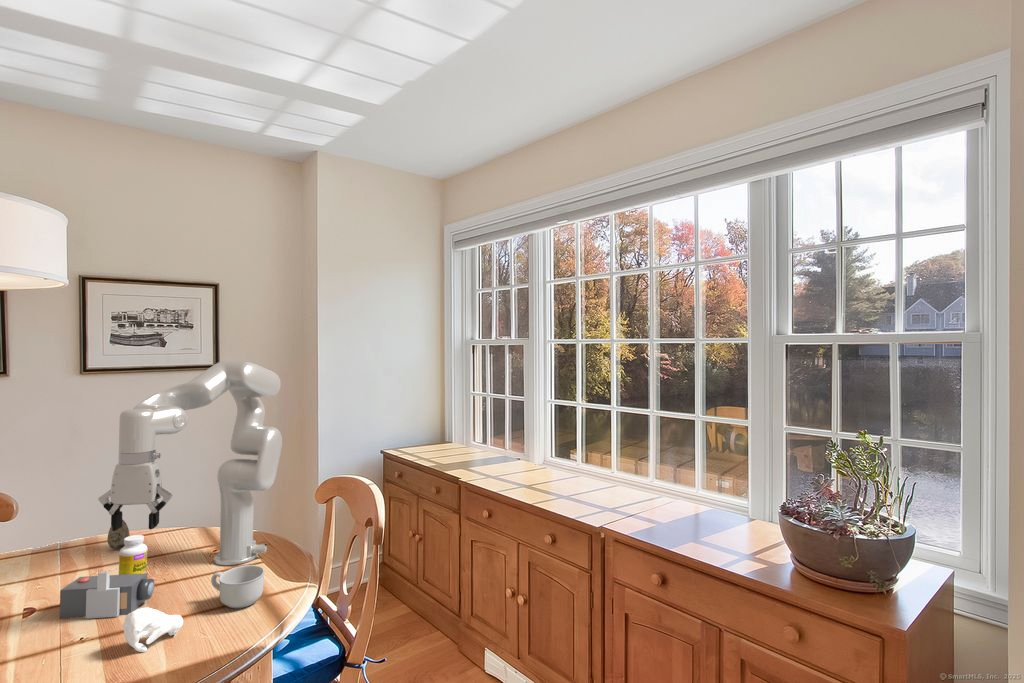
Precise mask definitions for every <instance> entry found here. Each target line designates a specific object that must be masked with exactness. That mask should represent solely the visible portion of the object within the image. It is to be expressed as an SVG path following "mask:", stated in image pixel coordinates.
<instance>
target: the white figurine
mask: <svg viewBox="0 0 1024 683" xmlns="http://www.w3.org/2000/svg"><path fill="white" fill-rule="evenodd" d="M183 625H184V619H183V617H182V615H180V614H166V613H165V612H163V611H160V610H158V609H154V608H151V607H142V608H140V607H139V608H137V609H136V610H135V611H133V612H131V613H129V614H126V616H125V618H124V622H123V624H122V628H123V632H124V633H123V634H124V638H125V641H126V643H127V644H129V645H128V646H130V647H132V648H134V650H135V651H137V652H140V653H146V652H147V651H148V648H147V646H146V645H150V644H152V643H153V642H155V641H156V640H157V639H158V638H159V637H161V636H163V635H165V634H166V633H168V636H169V637H171V636H173V637H172V638H175V636H176V635H177V634H178V632H179V630H180V629H182V627H183ZM143 637H147V639H146V641H145V644H146V645H145V644H143V643H140V642H139V641H140V639H142V638H143Z"/></svg>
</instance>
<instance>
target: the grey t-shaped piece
mask: <svg viewBox="0 0 1024 683" xmlns="http://www.w3.org/2000/svg"><path fill="white" fill-rule="evenodd" d="M110 573H111V572H110V570H104V571H103V570H102V571H100V572H97V576H98V578H97V589H88V590H87V591H86V617H85V619H104V618H117V617H118V616H120V615H119V607H120V587H119V588H109V581H110Z"/></svg>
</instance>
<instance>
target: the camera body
mask: <svg viewBox="0 0 1024 683" xmlns="http://www.w3.org/2000/svg"><path fill="white" fill-rule="evenodd" d="M97 578H98V575H92V576H90V575H87V576H79V577H77V578H76V579H75V580H73V581H72V582H70V583H69V584H67V585H66V586H65V587H63V588H62V589H60V593H59V619H60V620H61V619H73V618H75V619H76V618H77V619H78V618H86V591H87V590H88V589H97ZM119 587H120V607H119V615H118V616H121V615H122V616H123V615H128V614H129V613H131V612H133V611H135V610H137V609H139V608H140V606H141V605H143V604H144V603H145V602H146V601H148V600H150V599H151V597H152V596H153V593H154V590H155V581H154V579H153V578H148V573H143V574H124V575H119V574H111V575H110V581H109V588H119Z"/></svg>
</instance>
